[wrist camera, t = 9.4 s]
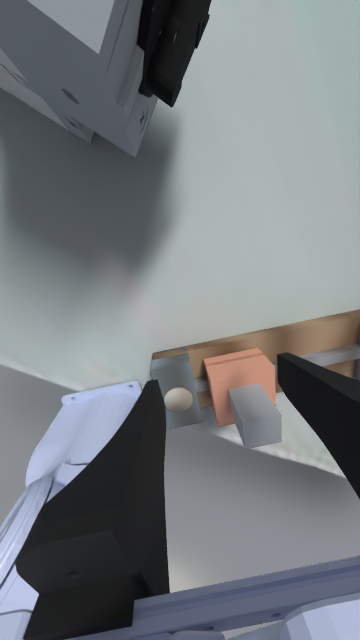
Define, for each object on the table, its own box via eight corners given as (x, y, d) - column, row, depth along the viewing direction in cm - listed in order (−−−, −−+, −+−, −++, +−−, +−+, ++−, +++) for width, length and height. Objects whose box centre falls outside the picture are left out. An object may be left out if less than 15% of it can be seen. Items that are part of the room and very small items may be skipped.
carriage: (211, 401, 23) (229, 464, 16) (203, 359, 21) (220, 411, 14) (260, 391, 23) (299, 450, 16) (257, 347, 21) (301, 395, 14)
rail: (167, 405, 25) (168, 431, 22) (152, 353, 22) (150, 373, 19) (373, 363, 25) (407, 382, 21) (384, 304, 22) (426, 315, 19)
